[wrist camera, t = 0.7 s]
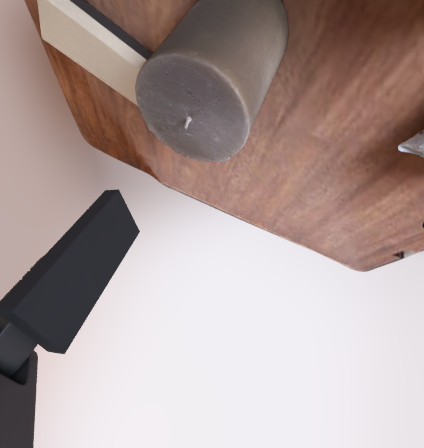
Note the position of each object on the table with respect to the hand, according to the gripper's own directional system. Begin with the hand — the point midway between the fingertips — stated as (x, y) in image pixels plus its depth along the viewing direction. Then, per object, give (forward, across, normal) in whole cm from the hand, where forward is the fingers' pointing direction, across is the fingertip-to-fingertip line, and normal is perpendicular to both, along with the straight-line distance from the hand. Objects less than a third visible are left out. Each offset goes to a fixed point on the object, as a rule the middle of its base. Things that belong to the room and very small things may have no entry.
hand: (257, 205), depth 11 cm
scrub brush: (+27, -20, +7) cm, 34 cm away
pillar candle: (+24, -3, +5) cm, 24 cm away
